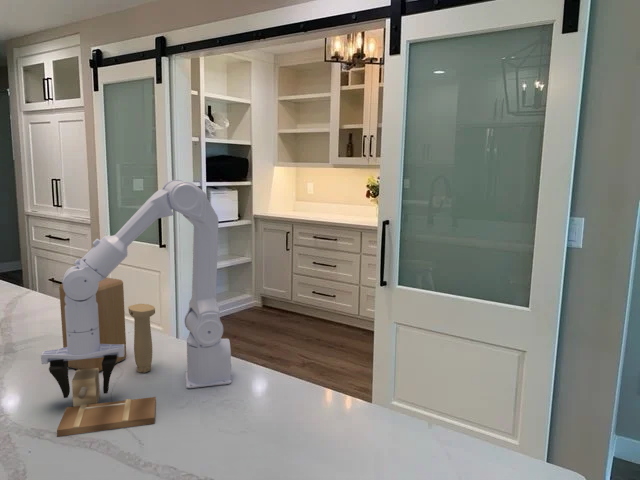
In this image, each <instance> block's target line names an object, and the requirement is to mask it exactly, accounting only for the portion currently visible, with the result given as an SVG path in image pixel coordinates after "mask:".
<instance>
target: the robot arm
mask: <svg viewBox="0 0 640 480" xmlns="http://www.w3.org/2000/svg"><path fill="white" fill-rule="evenodd" d="M173 211H174V212H177V213H179V214H182V216H183V217H184V218H185V219H186V220H188V222H190V223H191V224H192V225H193V244H192V245H193V246H192V247H193V249H192V279H191V280H192V286H191V299H190V300H189V303H188V311H187V313H186V314H185V316H184V321H183V322H184V326H185V328H186V329H187V331H189V333H188V336H187V338H186V354H187V355H186V364H187V365H186V366H187V367H186V368H187V370H186V371H185V373H184V374H185V376H184V377H185V387H186V389H193V388H195V389H196V388H202V387H204V388H205V387H211V386H220V385H229V384H231V383H232V351H231V343H230V339H229V338H222V336H223V334H224V325H223V323H222V321H221V317H220V315H221V313H220V308H219V305H218V302H217V301H218V300H217V274H218V250H219V249H218V246H219V245H218V244H219V242H218V241H219V216H218V214H217V213H216V210H215V209H214V207H213V206H212V204H211V203H210V201H209V199H208V197H207V194H206V192H205V191H204V190H202V189H201V188H200V187H199V186H197V184H195V183H193V182H190V181H184V180H179V179H172V180H170V181H168V182H166V183H165V184H164V185H163V187H162V188H160V189H158V190H157V191H155V192H154V193H153V194H152V195H151V196H150V197H148V199H146V201H145V203H143V204H142V205H141V206H140V207H139V208H138V209H137V211H136V212H135V213H134V214H133V215H132V216H131V217H130V219H128V220H127V221H126V222H125V224H124V225H122V227H121V228H120V229H119V230H118V231H117V232H116V233H115V234H113V235H104V236H103V237H102V238H101V239H99V238H95V240H94V241H92V245H93V246H92V248H90V249H89V251H87V253H85V255H84V256H82V257H81V258H80V259H79V258H77V259H75V261H74V263H73V264H74V265H75V266H74V265H73V266H71V267H69V268H68V269H67V270H66V271H65V273H64V274H63V277H62V280H61V284H63V289H64V292H65V294H66V296H65V304H66V305H65V322H66V336H67V347H65V348H63V347H60V348H56V349H50V350H43V351H42V352H41V354H40V359H41V360H40V361H41V362H40V363H41V365H47V364H49V367H48V371H49V373H50V374H51V375H52V377H53V378H54V380H56V382H57V383H58V385H59V387H60V390H61V393H62V395H63V399H67V398H69V395H70V394H71V388H70V387H71V386H70V379H69V367H68V361H69V360H80V359H91V358H102V357H104V359H103V361H102V370H101V371H102V376H103V377H102V378H103V388H102V391H103V395H104V394H108V393H109V387H110V380H111V379H110V378H111V375H112V373H113V370H114V368H115V365H117V363H116V360H117V357H124V355H125V344H100V335H99V318H98V304H97V302H96V292H97V290H98V287H99V282H100V281H102V280H104V279H105V278H108V276H110V274H111V273H112V272H113V271H114V270H115V269H116V268H117V267H118V266H119V265H120V264H121V263H122V262H123V261H124V260H125V259H126V258H127V257H128V256H129V255H128V247H129V246H130V245H131V244H133V242H134V241H135V240H136V239H137V238H139V236H141V235H142V233H143V232H145V231H146V230H147V229H148V228H149V227H150V226H151V225H153V223H154V222H156V221H157V219H161V218H167V217H172V216H174V215H175V214H174V212H173Z"/></svg>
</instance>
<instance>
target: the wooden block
mask: <svg viewBox="0 0 640 480" xmlns="http://www.w3.org/2000/svg"><path fill="white" fill-rule="evenodd" d="M58 290H59V304H60V316H61V317H60V319H61V333H62V344H63V345H62V348H65V347H67V336H66V322H65V305H66V304H65V296H66V294H65V292H64V289H63V283H61V284H60V285H59V286H58ZM124 295H125V292H124V282H123V280H122V279H117V278H113V277H112V278H111V277H106V278H105V279H104V280H102V281H100V282H99V287H98V290H97V292H96V302H97V304H98V318H99V335H100V344H125V355H124V357H117V360H116V364H117V363H119V362H121V361H123V360H125V359H126V357H127V339H126V338H127V337H126V335H127V334H126V318H125V317H126V316H125V315H126V314H125V296H124ZM103 359H104V357H102V358H91V359H80V360H69V361H68V368H71V369H75V370H82V369H93V368H99V372H102V371H103V370H102V361H103Z"/></svg>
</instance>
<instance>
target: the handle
mask: <svg viewBox="0 0 640 480" xmlns="http://www.w3.org/2000/svg"><path fill="white" fill-rule="evenodd" d="M127 308H128V314H129V316H130V317H132V318H133V319H134V330H133V331H134V332H133V333H134V334H133V350H134V351H133V352H134V361H135V365H136V371H137V373H145V374H146V373H148V372H150V371H151V370H152V362H153V339H152V327H151V317H152V316H154V315H155V314H156V307H155V306H154V305H152V304H149V303H148V304H147V303H137V304H136V303H135V304H131V305H129V306H128V307H127Z"/></svg>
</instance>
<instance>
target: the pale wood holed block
mask: <svg viewBox="0 0 640 480" xmlns="http://www.w3.org/2000/svg"><path fill="white" fill-rule="evenodd" d="M71 388H72V389H71V390H72V404H73V406H72V407H74V406H81V405H82V404H87V405H91V404H99V400H100V397H101V390H100V371H99V368H93V369H82V370H79V369H76V371H75V373H74V376H73V378H72V379H71Z"/></svg>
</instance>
